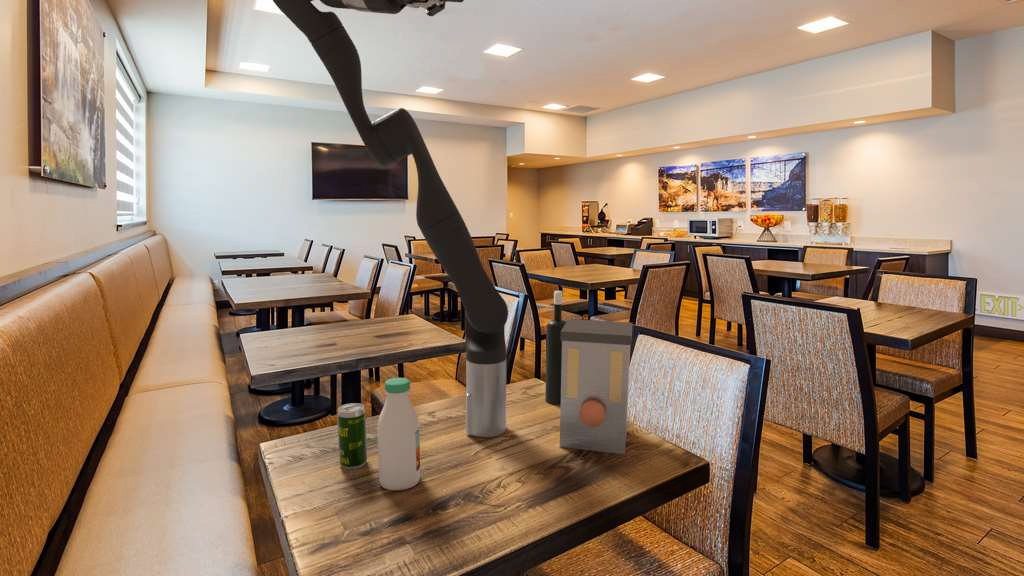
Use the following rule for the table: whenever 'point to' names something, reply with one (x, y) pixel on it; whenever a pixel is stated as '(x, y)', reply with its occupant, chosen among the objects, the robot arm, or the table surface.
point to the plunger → (592, 413)
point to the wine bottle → (554, 353)
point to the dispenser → (595, 383)
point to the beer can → (352, 436)
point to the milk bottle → (398, 438)
